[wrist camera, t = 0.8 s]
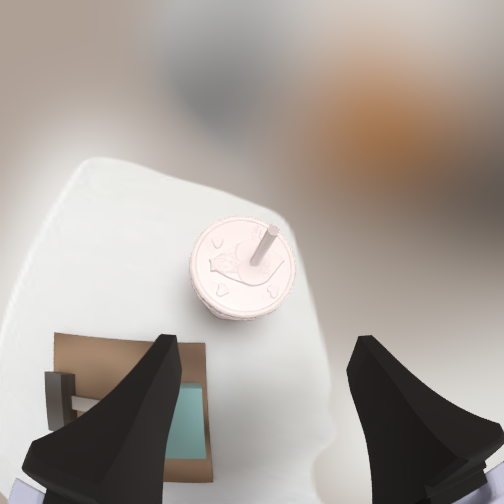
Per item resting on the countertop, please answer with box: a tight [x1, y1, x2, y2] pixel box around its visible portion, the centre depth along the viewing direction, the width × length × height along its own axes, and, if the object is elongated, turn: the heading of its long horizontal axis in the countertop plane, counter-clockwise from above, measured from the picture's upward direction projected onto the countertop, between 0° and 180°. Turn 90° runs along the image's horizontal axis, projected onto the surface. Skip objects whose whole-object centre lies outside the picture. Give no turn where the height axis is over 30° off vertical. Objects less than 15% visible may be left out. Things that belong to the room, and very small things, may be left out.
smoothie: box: [189, 216, 296, 321], centre depth 19 cm, size 6×6×14 cm
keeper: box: [165, 383, 206, 459], centre depth 18 cm, size 5×4×5 cm
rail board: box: [45, 332, 213, 483], centre depth 18 cm, size 13×14×4 cm
